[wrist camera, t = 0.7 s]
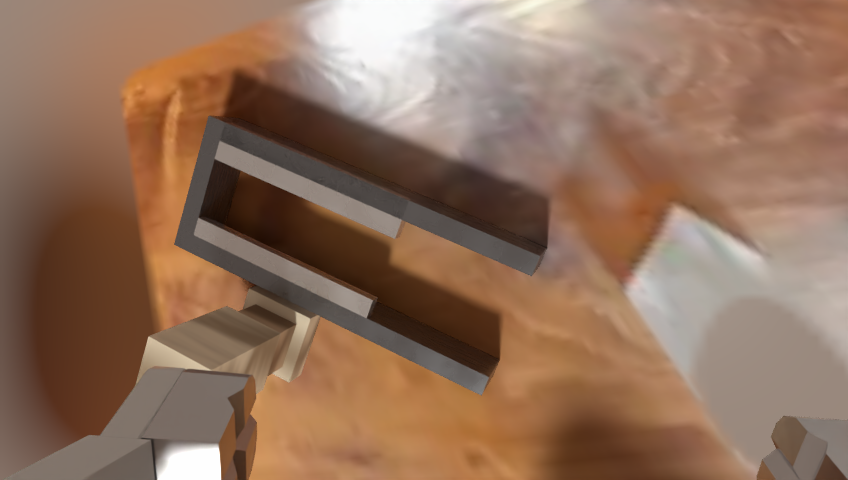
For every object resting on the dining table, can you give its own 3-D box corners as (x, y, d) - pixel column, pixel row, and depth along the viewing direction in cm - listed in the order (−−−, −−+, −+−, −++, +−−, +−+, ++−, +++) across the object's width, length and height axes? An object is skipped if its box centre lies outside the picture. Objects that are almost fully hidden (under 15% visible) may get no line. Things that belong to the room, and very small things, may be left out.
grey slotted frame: (238, 118, 52) (208, 115, 49) (547, 247, 46) (540, 256, 42) (205, 238, 55) (174, 244, 51) (492, 376, 49) (481, 395, 45)
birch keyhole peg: (262, 283, 54) (144, 326, 41) (321, 312, 52) (219, 366, 39) (243, 344, 55) (123, 404, 42) (301, 374, 54) (195, 446, 41)
